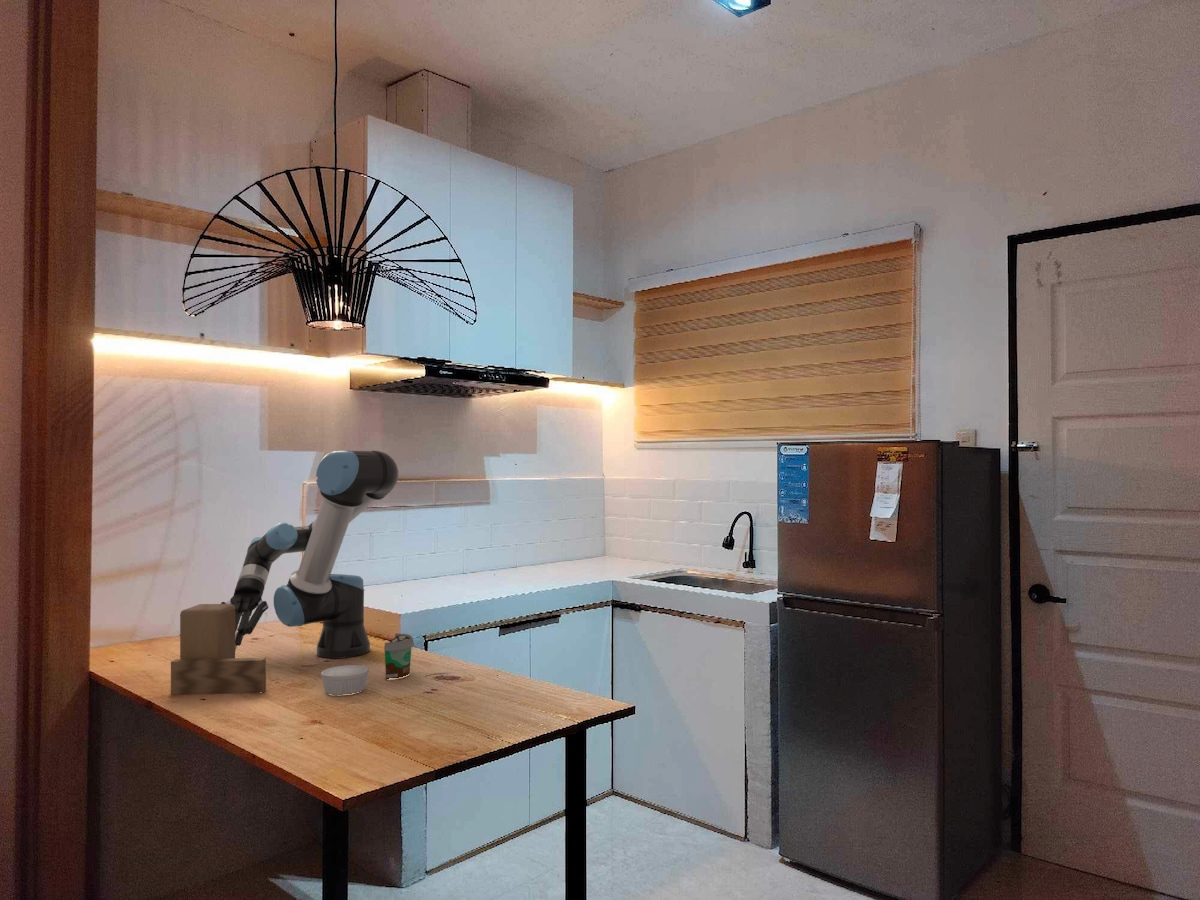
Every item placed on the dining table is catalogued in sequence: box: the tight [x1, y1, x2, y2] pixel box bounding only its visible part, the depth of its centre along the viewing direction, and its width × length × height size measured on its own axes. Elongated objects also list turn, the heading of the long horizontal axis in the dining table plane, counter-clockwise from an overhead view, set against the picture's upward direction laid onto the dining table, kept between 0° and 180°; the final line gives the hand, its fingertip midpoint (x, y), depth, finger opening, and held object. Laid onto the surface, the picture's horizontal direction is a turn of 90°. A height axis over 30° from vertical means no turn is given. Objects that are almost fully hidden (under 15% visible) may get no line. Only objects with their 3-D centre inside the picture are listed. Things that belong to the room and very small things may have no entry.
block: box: [179, 603, 236, 659], centre depth 210 cm, size 10×10×20 cm
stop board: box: [170, 657, 267, 695], centre depth 203 cm, size 22×2×8 cm, turn 92°
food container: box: [383, 633, 415, 680], centre depth 218 cm, size 12×6×10 cm, turn 0°
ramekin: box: [320, 664, 370, 695], centre depth 203 cm, size 11×11×5 cm
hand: (229, 655), depth 223 cm, fingers closed
